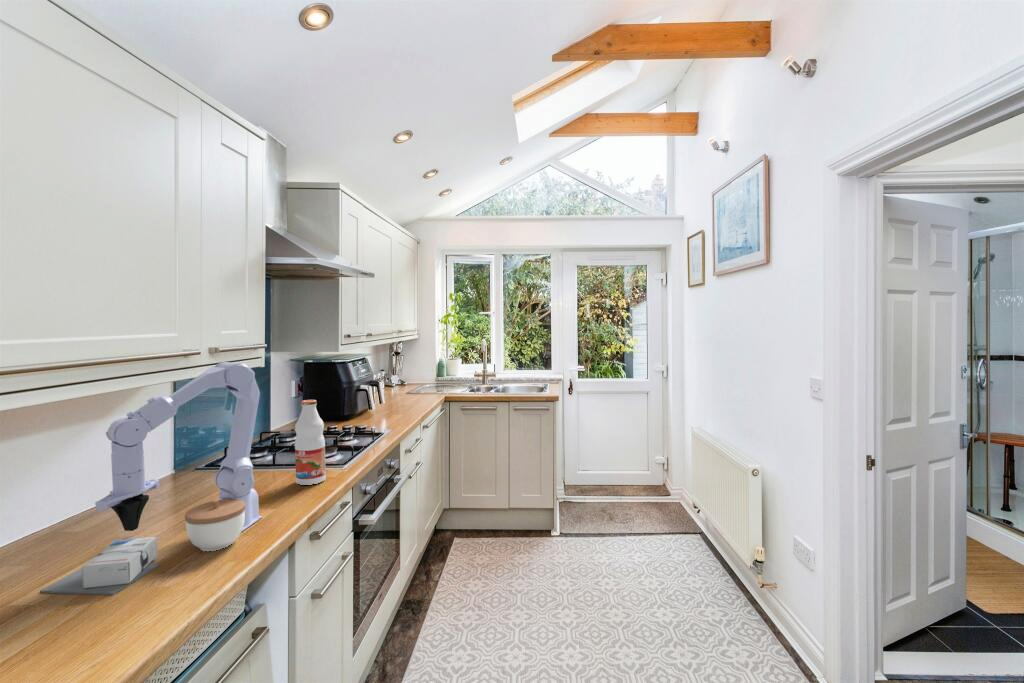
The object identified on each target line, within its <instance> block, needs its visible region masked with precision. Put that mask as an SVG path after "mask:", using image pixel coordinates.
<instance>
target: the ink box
mask: <svg viewBox="0 0 1024 683" xmlns="http://www.w3.org/2000/svg"><path fill="white" fill-rule="evenodd" d="M157 557H158V537H157V536H150V537H140V538H130V539H121V540H115V541H113V542H112V543H111V544H109V545H108V546H107V547H106V548H104V549H103V550H101V551H100V552H99V553H98V554H97V555H95V556H94V557H93V558H91V559H90V560H89V561H87V563H86V562H85V564H84V565H83V566H81V568H82V580H83V588H91V587H100V586H110V585H119V584H127V583H130V582H131V581H132V580H133V579H134V578H135V577H136V576H137V575H138V574H139V573H140V572H141V571H142V570H143V569H144V568H145V567H146V566H147V565H148V564H149V563H152V562H153V561H154V560H155V559H156V558H157Z"/></svg>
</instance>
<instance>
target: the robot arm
mask: <svg viewBox="0 0 1024 683" xmlns="http://www.w3.org/2000/svg"><path fill="white" fill-rule="evenodd" d="M255 375H256V372H255V371H254V370H253V369H252V368H250V366H249V365H247V364H245V363H243V362H237V363H236V362H230V361H221V362H218V363H217V364H215V366H211V367H209V368H207V369H206V370H204V371H203V372H201V374H199V375H198V376H196V377H194V378H193V379H192V380H190V381H189V382H187V383H186V384H185V385H183V386H182V387H180V388H179V389H177V390H176V391H175V392H173V393H171V394H170V395H169V396H164V395H163V396H162V395H161V396H157V397H151V398H149V399H147V402H148V403H146V404H144V405H142V406H141V407H139V408H138V409H136V410H134V411H128V412H127V413H126V416H127V417H123V418H122V417H121V418H118V419H116V420H114V421H113V422H112V423H110V426H109V427H108V429H107V431H106V432H105V435H106V438H107V439H108V440H109V441H110V443H111V444H110V445H111V448H110V449H111V454H110V455H111V456H110V457H111V458H110V459H111V477H112V479H111V480H112V489H111V490H110V491H109V494H108V495H106V496H104V497H103V498H101V499H100V500H99V499H98V500H97V501H96V502H95V511H96V512H105V511H107V510H109V509H110V508H111V509H112V510H113V511H114V512H115V514H116V516H117V517H118V518H119V520H120V523H121V524H122V528H123V530H124V532H125V531H127V532H133V531H135V530H137V529H138V527H139V524H140V520H141V517H142V513H143V511H144V509H145V506H146V504H147V503H148V501H149V500H150V496H149V495H148V494H144V493H146V492H149V491H151V490H153V489H154V490H155V489H158V488H160V479H153V478H152V479H151V478H150V479H149V480H147V481H146V477H145V476H146V475H145V474H146V473H145V455H144V454H145V452H144V446H143V441H145V440H146V438H147V437H148V436H147V435H148V433H150V432H152V431H153V430H155V429H156V428H159V427H160V426H161V425H163V424H164V423H165V422H167V421H168V420H170V419H172V418H173V417H174V416H176V415H177V413H178V409H179V407H180V406H183V405H184V404H185V403H187V402H189V401H191V400H193V399H194V398H196V397H197V396H199V395H201V394H202V393H204V392H206V391H208V390H210V389H217V388H225V389H227V390H228V391H229V392H230V393H232V395H233V396H234V397H235V399H236V401H235V407H234V412H233V418H232V419H233V420H232V423H231V431H230V435H229V436H230V437H229V441H228V447H227V452H226V456H225V458H223V460H222V461H221V463H220V467H219V470H217V472H216V474H215V477H214V484H215V486H216V487H217V488H219V492H218V493H219V496H218V497H219V498H218V500H223V499H238V500H242V501H244V502H245V521H244V526H243V529H242V531H241V533H243V531H245V530H246V529H248V528H249V527H251V526H252V525H254V524H255V523H256V522H258V521H259V520H260V518H261V517H262V518H263V516H262V515H260V514H259V513H260V512H259V511H260V510H259V495H258V492H257V491H256V489H255V488H254V485H255V477H254V471H253V470H254V465H253V463H252V461H251V458H250V456H251V451H252V450H251V448H252V444H253V438H254V432H255V426H256V420H257V414H258V407H259V402H260V398H261V397H260V396H261V390H260V389H259V386H258V382H257V380H256V378H255ZM262 518H261V519H262ZM253 523H254V524H253Z"/></svg>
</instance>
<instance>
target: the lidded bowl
mask: <svg viewBox="0 0 1024 683" xmlns="http://www.w3.org/2000/svg"><path fill="white" fill-rule="evenodd" d="M184 519H185V528H186V533H187V534H186V535H187V537H188V539H189V541H190V542H191V544H192V545H193V546H195V547H196V548H198V549H199V550H200V551H201V550H202V552H205V551H207V553H208V552H209V551H211V552H216V550H217V551H220V549H221V550H223V549H222V548H224V549H226V548H229V547H230V546H232V545H233V544H234V543H233V542H235V540H236V539H237V538H239V536H240V535H241V533H242V532H243V531H242V529H243V526H244V521H245V502H244V501H242V500H238V499H223V500H219V499H214V500H211V501H208V502H204V503H201V504H198V505H196V506H195V505H194V506H193V507H191V508H189V509H188V510H187V511H186V512H185V513H184ZM241 531H242V532H241ZM231 544H232V545H231ZM229 545H230V546H229ZM228 546H229V547H228ZM225 547H226V548H225Z"/></svg>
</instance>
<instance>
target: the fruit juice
mask: <svg viewBox="0 0 1024 683" xmlns="http://www.w3.org/2000/svg"><path fill="white" fill-rule="evenodd" d="M317 404H318V402H317V400H316V399H306V400H305V399H304V400H301V401H300V405H301V407H302V408H301V412H300V414H299V418H298V420H297V421H296V423H295V425H294V430H295V431H294V432H295V434H296V438H295V441H294V452H295V453H294V454H295V456H294V457H295V458H294V459H295V461H294V462H295V482H296V485H298V484H300V485H310V484H315V483H319V482H322V481H324V480H325V481H326V479H327V478H326V477H327V473H326V470H327V469H326V468H327V467H326V440H325V437H324V433H323V432H324V429H325V423H324V421H323V419H322V418H321V417H320V414H319V412H318V410H317ZM325 481H324V482H325ZM322 483H323V482H322ZM300 485H299V486H300Z"/></svg>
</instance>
